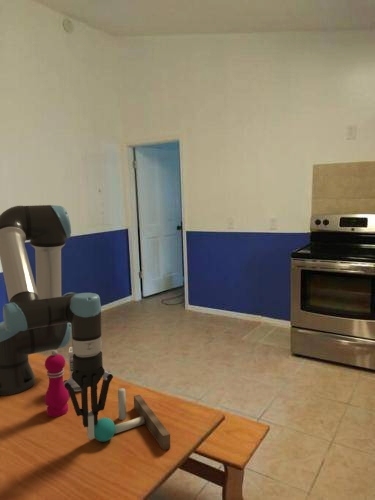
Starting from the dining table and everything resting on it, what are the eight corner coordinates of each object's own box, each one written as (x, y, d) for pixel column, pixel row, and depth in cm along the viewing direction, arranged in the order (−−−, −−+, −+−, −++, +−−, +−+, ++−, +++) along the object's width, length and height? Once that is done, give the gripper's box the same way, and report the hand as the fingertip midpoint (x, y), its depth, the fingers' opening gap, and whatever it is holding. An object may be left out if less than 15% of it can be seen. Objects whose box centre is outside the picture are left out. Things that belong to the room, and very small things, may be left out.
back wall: (134, 407, 123) (133, 396, 123) (140, 406, 124) (139, 394, 123) (163, 450, 102) (163, 436, 101) (170, 448, 103) (170, 434, 102)
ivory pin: (112, 430, 111) (141, 421, 115) (115, 435, 109) (144, 425, 114) (112, 424, 110) (141, 414, 115) (115, 428, 108) (145, 419, 113)
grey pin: (117, 417, 118) (117, 389, 117) (125, 415, 119) (124, 387, 118) (120, 420, 116) (119, 392, 115) (127, 418, 117) (126, 390, 116)
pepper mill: (62, 419, 117) (59, 355, 115) (40, 416, 119) (37, 353, 116) (73, 406, 124) (71, 346, 122) (53, 404, 126) (50, 345, 123)
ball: (89, 418, 107) (110, 409, 108) (96, 434, 110) (116, 425, 111) (90, 433, 102) (112, 424, 103) (97, 450, 104) (119, 441, 105)
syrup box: (70, 392, 133) (68, 352, 132) (71, 385, 139) (69, 346, 137) (87, 390, 135) (85, 350, 133) (87, 383, 140) (85, 344, 139)
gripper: (64, 361, 96) (68, 450, 99) (115, 352, 102) (118, 437, 104) (59, 351, 103) (63, 435, 105) (108, 343, 108) (110, 423, 111)
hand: (90, 436), depth 105 cm, fingers closed
